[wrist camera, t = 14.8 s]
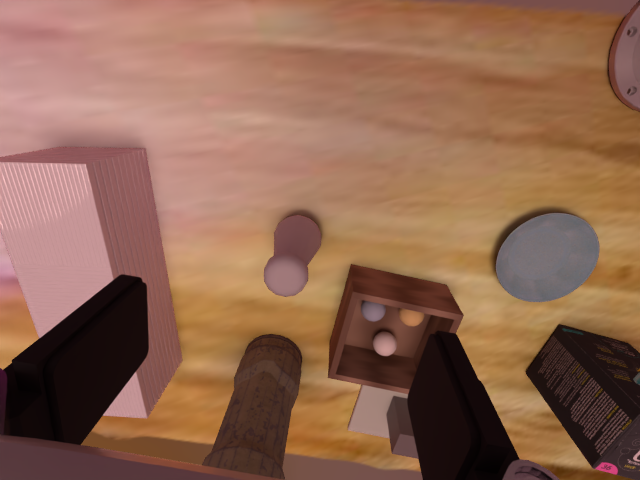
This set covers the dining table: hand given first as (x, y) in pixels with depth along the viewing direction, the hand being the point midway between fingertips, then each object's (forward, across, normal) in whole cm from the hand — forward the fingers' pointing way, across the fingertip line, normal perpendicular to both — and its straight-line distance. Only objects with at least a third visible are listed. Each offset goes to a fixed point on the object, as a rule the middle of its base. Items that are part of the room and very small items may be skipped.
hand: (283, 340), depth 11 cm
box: (+32, -12, +19) cm, 39 cm away
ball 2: (+31, -12, +22) cm, 40 cm away
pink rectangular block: (+32, +24, +18) cm, 45 cm away
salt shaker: (+32, +2, +9) cm, 33 cm away
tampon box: (+32, -40, +21) cm, 55 cm away
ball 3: (+31, -14, +17) cm, 38 cm away
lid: (+32, -18, +35) cm, 51 cm away
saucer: (+33, -28, +6) cm, 44 cm away
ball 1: (+31, -9, +17) cm, 37 cm away
